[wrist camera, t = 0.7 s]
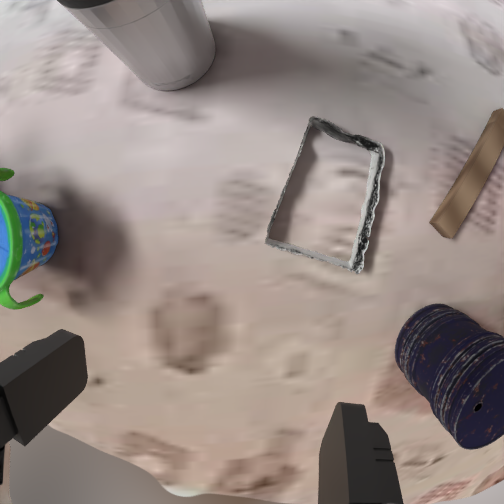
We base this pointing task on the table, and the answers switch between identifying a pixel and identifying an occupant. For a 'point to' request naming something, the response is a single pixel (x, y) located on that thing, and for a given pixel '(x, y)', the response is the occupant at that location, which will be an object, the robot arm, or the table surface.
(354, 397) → the table surface
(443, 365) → the dark blue ridged cylinder
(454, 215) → the walnut bay
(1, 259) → the snack cup
